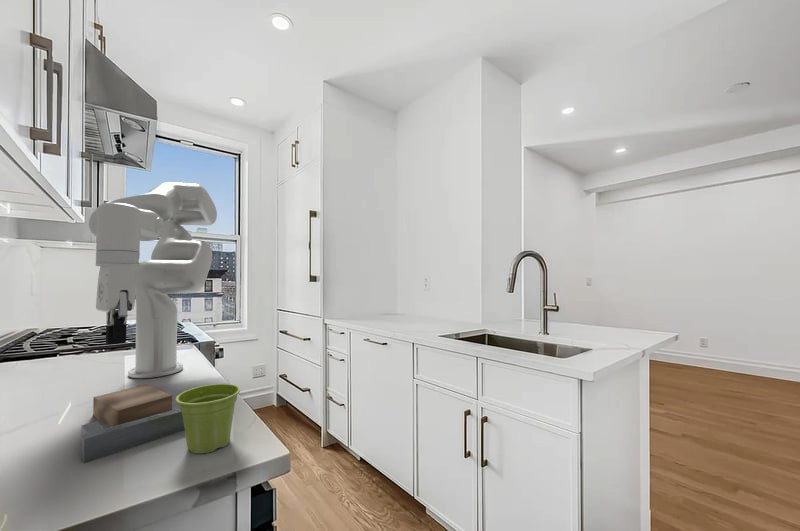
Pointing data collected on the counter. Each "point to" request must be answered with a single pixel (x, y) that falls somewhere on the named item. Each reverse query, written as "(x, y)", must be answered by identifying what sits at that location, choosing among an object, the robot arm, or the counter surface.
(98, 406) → the walnut slab
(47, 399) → the counter surface
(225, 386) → the plant pot
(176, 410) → the stop bracket
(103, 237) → the robot arm
